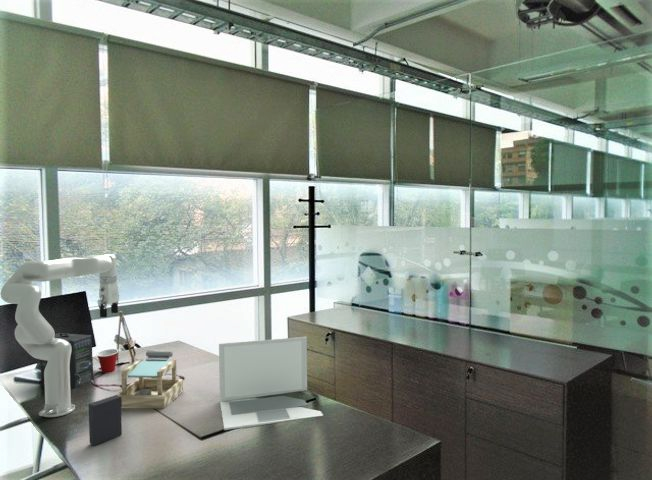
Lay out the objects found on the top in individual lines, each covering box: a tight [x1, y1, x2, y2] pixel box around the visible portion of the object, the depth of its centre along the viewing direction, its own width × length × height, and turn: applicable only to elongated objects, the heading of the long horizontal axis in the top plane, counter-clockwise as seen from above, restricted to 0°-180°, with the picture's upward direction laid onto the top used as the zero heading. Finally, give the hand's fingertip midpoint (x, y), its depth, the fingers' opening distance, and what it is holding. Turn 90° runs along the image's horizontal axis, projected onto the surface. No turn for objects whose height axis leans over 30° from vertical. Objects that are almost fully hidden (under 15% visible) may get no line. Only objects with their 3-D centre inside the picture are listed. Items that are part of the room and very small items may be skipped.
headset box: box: [40, 332, 94, 389], centre depth 235 cm, size 22×12×26 cm, turn 71°
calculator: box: [87, 394, 123, 446], centre depth 175 cm, size 11×4×15 cm, turn 143°
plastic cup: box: [95, 348, 119, 374], centre depth 249 cm, size 11×11×12 cm
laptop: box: [218, 336, 324, 431], centre depth 199 cm, size 40×29×28 cm
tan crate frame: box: [115, 358, 184, 409], centre depth 213 cm, size 22×22×16 cm
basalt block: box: [134, 389, 151, 395], centre depth 206 cm, size 5×5×6 cm
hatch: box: [127, 350, 174, 379], centre depth 215 cm, size 19×14×4 cm
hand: (109, 314), depth 226 cm, fingers open, 9 cm apart
